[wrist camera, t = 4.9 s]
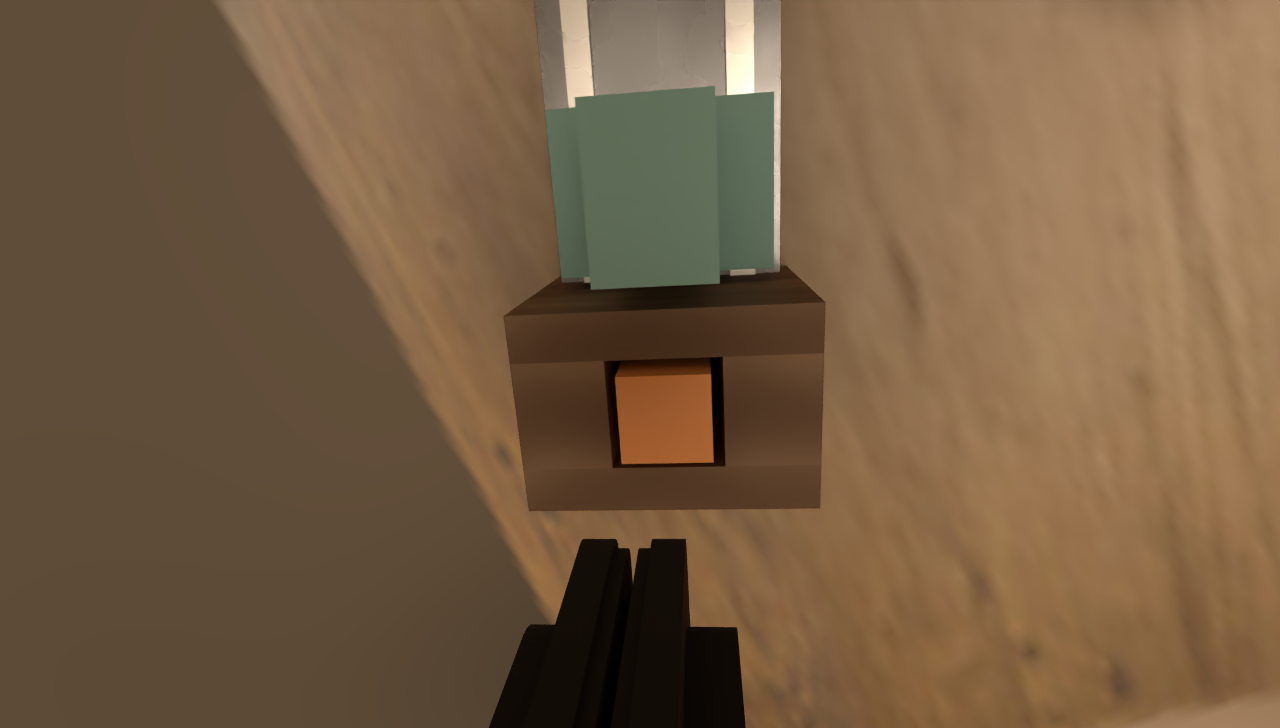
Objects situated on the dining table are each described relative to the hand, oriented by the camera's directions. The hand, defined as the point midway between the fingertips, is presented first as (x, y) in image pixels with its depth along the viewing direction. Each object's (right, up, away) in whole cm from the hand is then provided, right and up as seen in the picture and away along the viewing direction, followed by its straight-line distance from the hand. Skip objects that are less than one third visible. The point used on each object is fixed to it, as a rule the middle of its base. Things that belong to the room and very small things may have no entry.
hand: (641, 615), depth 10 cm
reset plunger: (+2, +5, +17) cm, 18 cm away
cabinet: (+2, +5, +17) cm, 18 cm away
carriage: (+1, +11, +13) cm, 17 cm away
